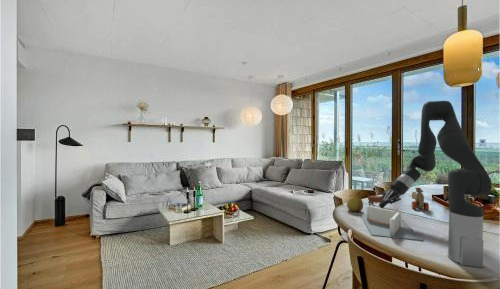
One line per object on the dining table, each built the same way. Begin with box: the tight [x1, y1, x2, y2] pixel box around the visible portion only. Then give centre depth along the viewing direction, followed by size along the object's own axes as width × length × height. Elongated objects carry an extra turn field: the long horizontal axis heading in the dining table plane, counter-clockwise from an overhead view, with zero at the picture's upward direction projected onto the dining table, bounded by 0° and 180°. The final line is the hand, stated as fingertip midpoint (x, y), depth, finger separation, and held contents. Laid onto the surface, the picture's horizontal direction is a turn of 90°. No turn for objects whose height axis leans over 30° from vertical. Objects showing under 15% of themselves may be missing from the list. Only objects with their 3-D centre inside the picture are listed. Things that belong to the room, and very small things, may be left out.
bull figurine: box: [367, 195, 383, 207], centre depth 157 cm, size 4×13×8 cm, turn 78°
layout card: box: [359, 213, 425, 242], centre depth 122 cm, size 32×20×1 cm, turn 164°
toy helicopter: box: [411, 187, 430, 211], centre depth 157 cm, size 8×21×14 cm, turn 158°
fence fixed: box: [390, 211, 402, 236], centre depth 114 cm, size 16×2×8 cm, turn 139°
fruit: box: [346, 191, 364, 213], centre depth 148 cm, size 9×9×12 cm
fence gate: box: [366, 205, 397, 224], centre depth 126 cm, size 14×2×7 cm, turn 42°
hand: (380, 206), depth 130 cm, fingers closed
